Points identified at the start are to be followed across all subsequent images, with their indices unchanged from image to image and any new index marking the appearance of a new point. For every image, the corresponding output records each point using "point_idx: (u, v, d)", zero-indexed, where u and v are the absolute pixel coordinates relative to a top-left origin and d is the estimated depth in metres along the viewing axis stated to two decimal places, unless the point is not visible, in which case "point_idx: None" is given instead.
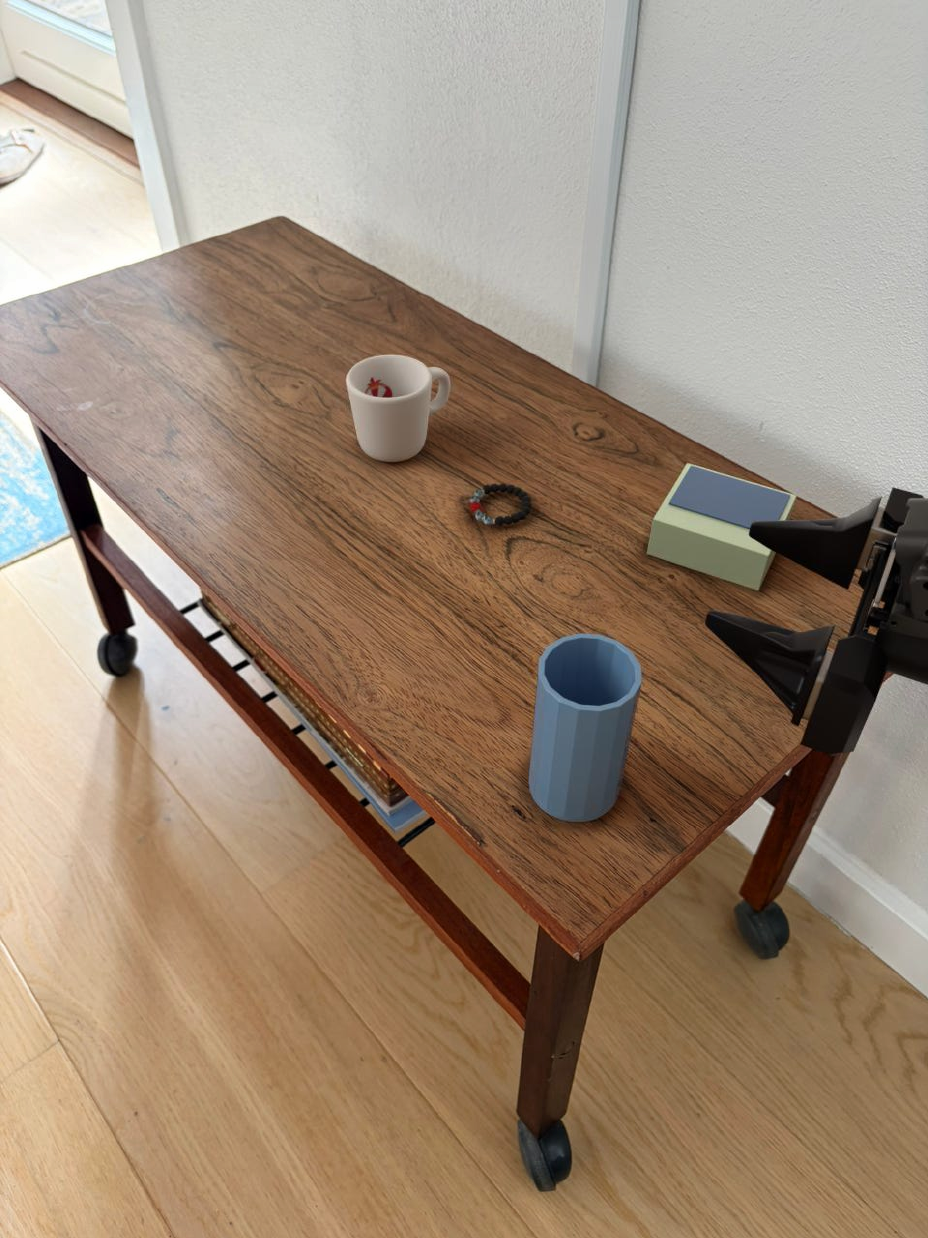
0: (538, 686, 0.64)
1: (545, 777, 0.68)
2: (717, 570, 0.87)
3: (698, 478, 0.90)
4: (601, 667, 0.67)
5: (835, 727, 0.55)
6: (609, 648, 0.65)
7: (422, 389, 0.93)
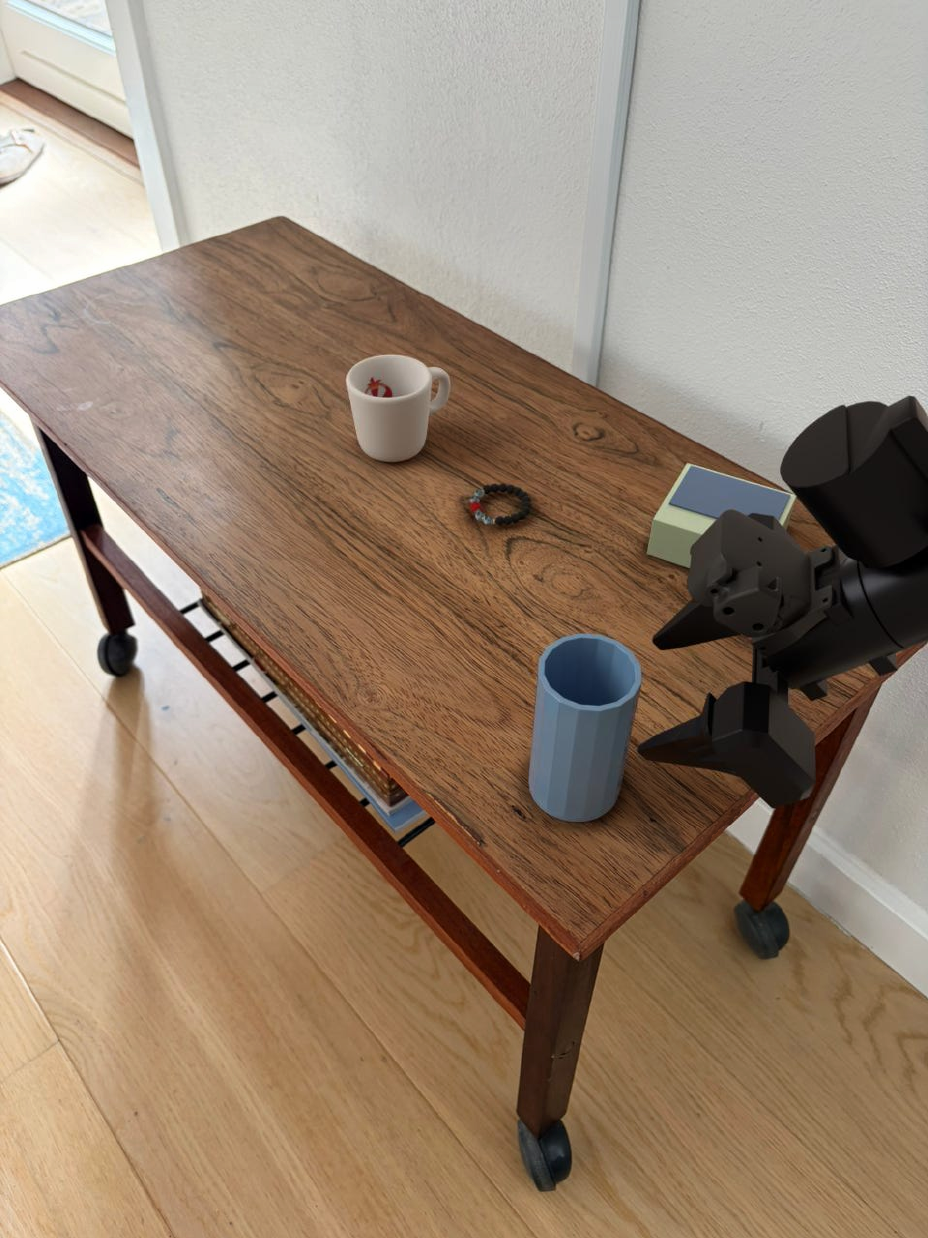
0: (538, 686, 0.64)
1: (545, 777, 0.68)
2: None
3: (698, 478, 0.90)
4: (601, 667, 0.67)
5: (771, 777, 0.52)
6: (609, 648, 0.65)
7: (422, 389, 0.93)
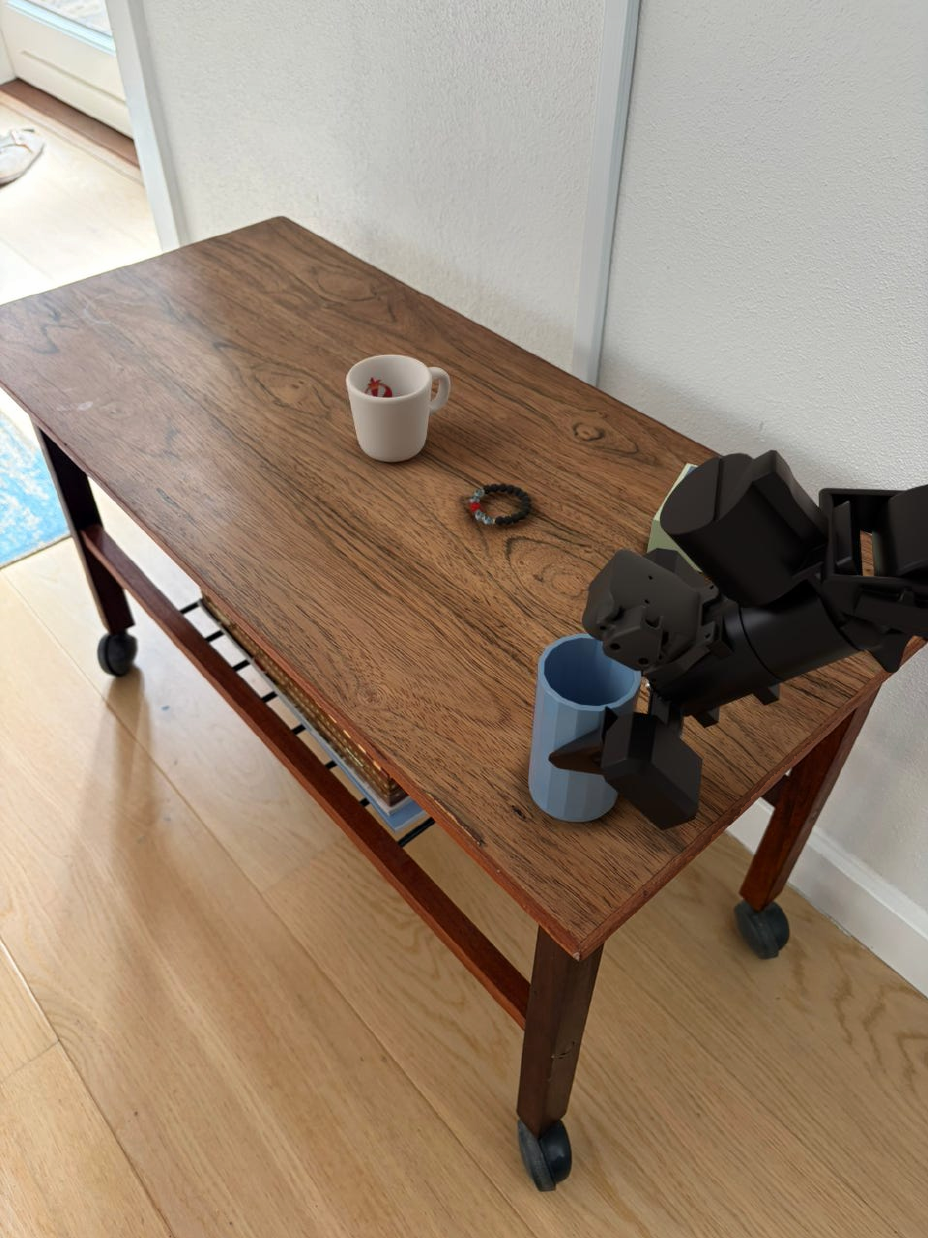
0: (538, 686, 0.64)
1: (545, 777, 0.68)
2: None
3: None
4: (601, 667, 0.67)
5: (656, 802, 0.56)
6: None
7: (422, 389, 0.93)
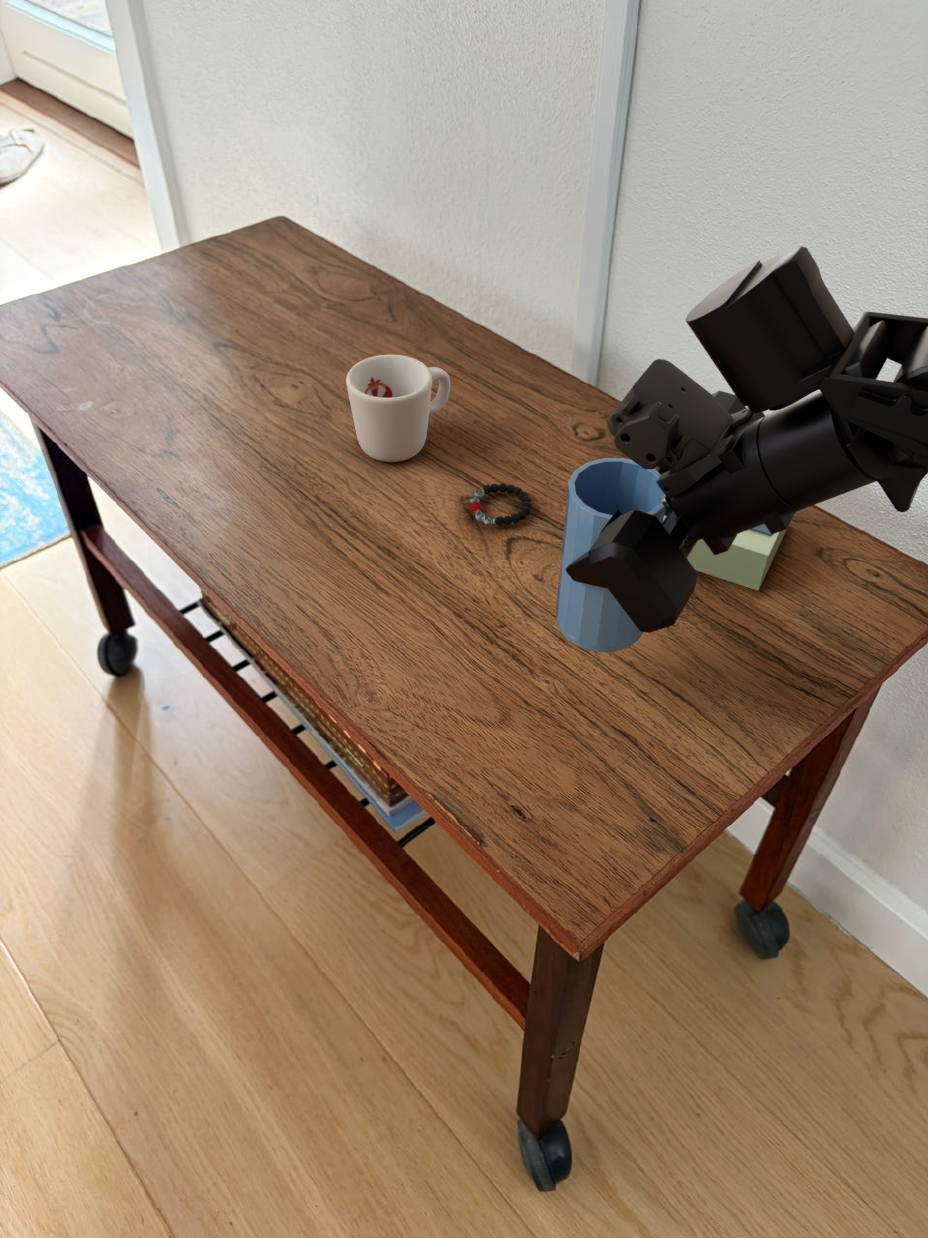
0: (567, 494, 0.66)
1: (565, 595, 0.70)
2: (717, 570, 0.87)
3: None
4: (639, 498, 0.68)
5: (635, 595, 0.57)
6: (647, 476, 0.67)
7: (422, 389, 0.93)
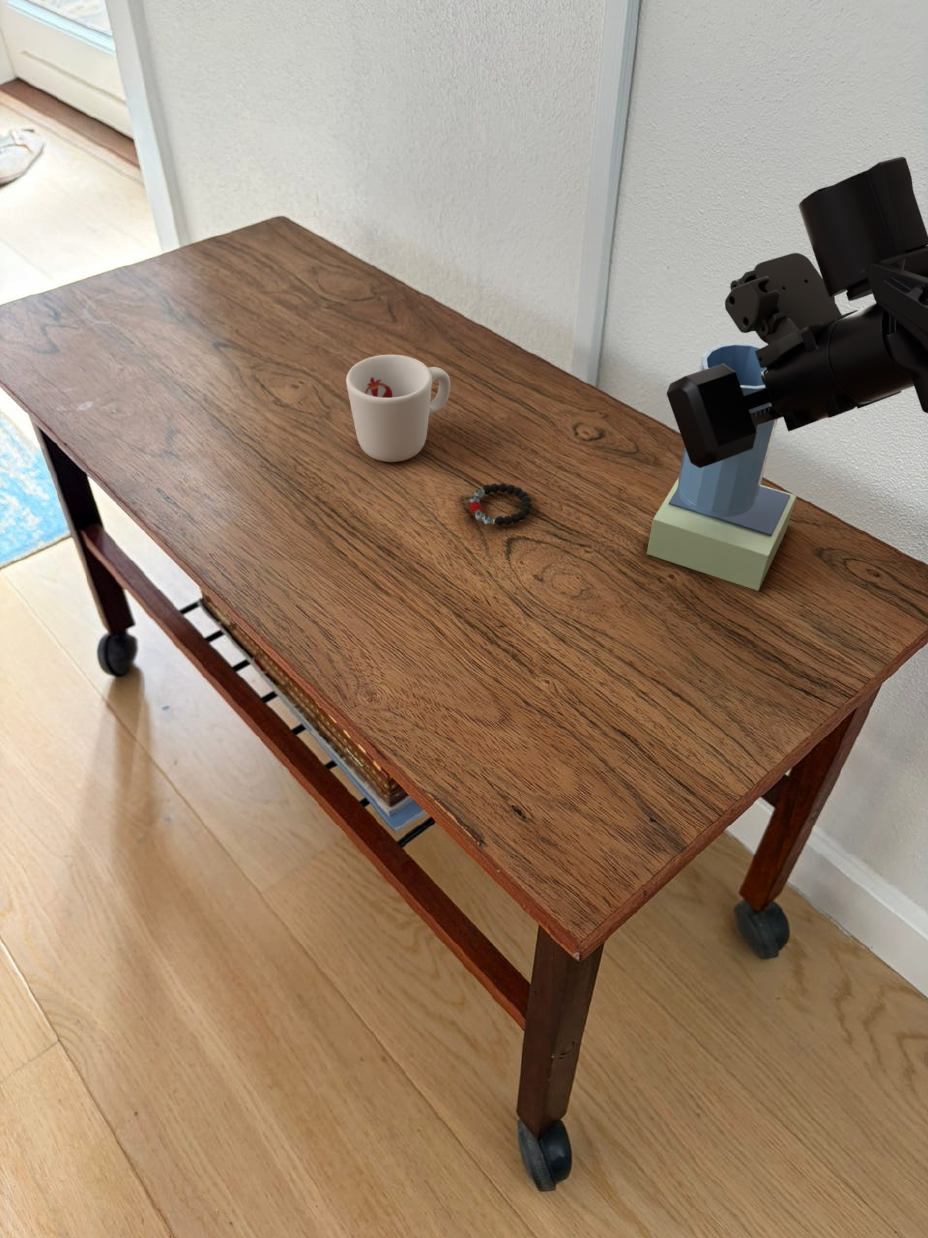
0: None
1: (684, 453, 0.82)
2: (717, 570, 0.87)
3: None
4: None
5: (691, 426, 0.69)
6: None
7: (422, 389, 0.93)
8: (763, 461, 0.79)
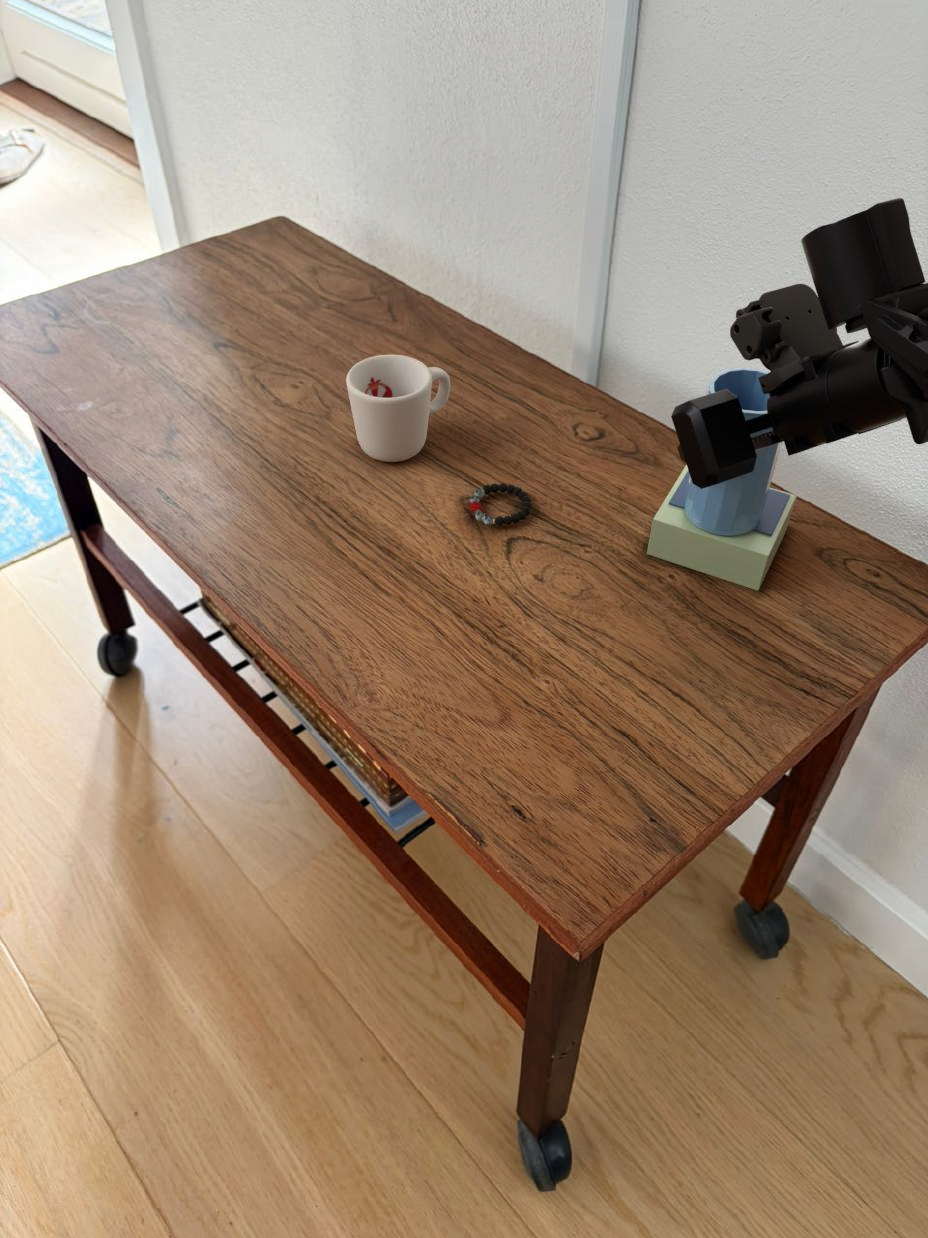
0: None
1: None
2: (717, 570, 0.87)
3: None
4: None
5: (693, 449, 0.72)
6: None
7: (422, 389, 0.93)
8: (767, 483, 0.82)
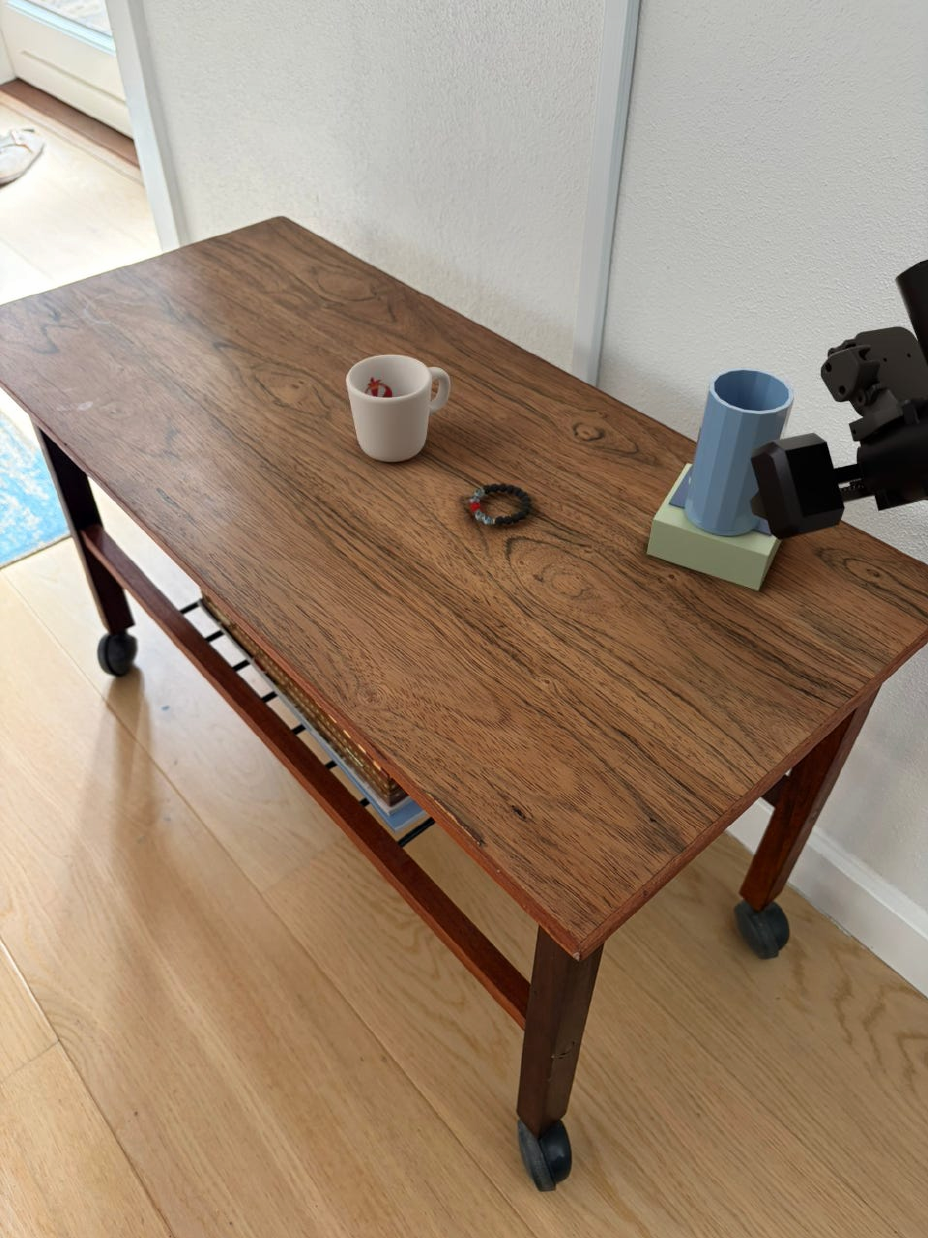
0: None
1: (691, 472, 0.84)
2: (717, 570, 0.87)
3: None
4: None
5: (774, 494, 0.65)
6: (785, 393, 0.79)
7: (422, 389, 0.93)
8: None
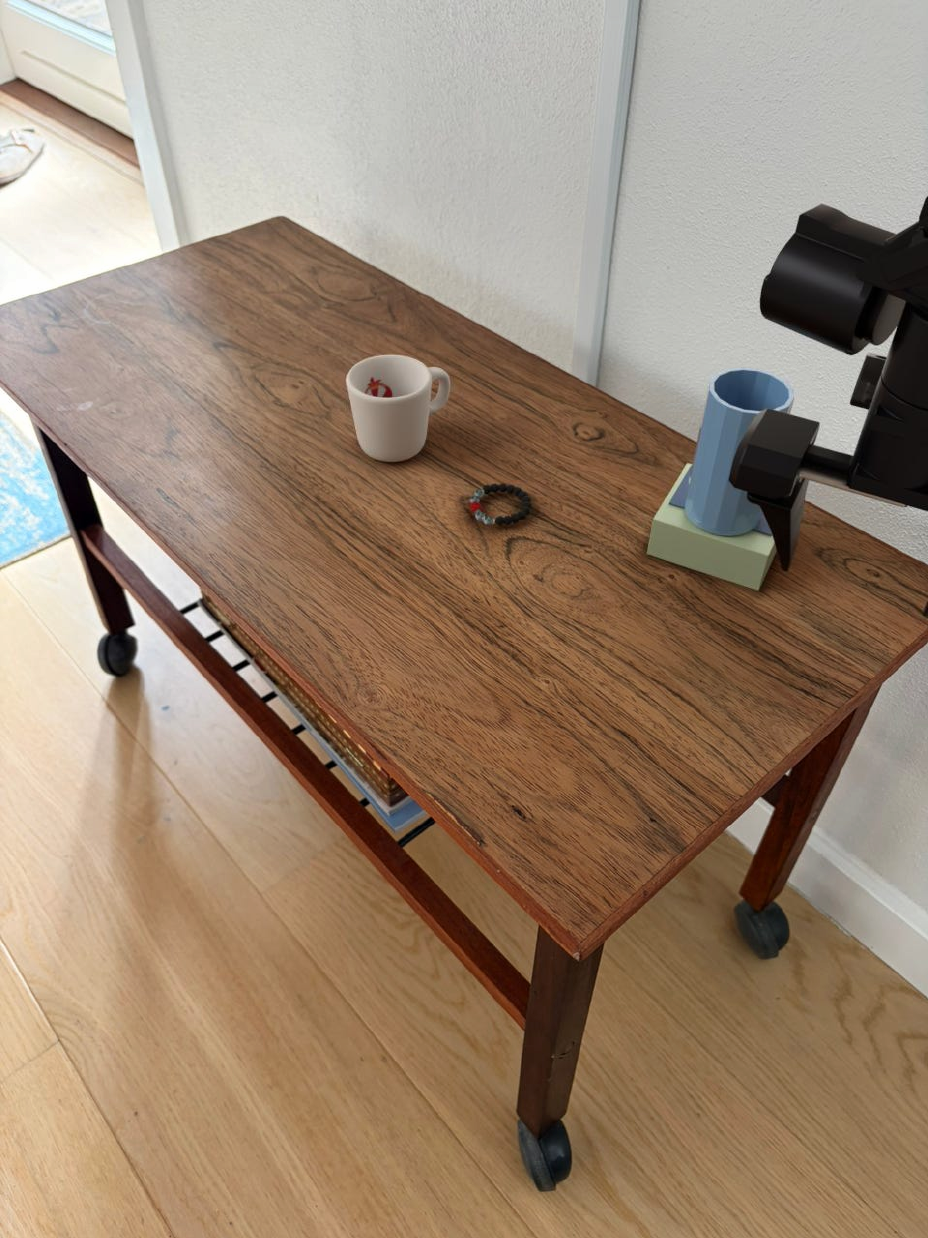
0: None
1: (691, 472, 0.84)
2: (717, 570, 0.87)
3: None
4: None
5: None
6: (785, 393, 0.79)
7: (422, 389, 0.93)
8: None
